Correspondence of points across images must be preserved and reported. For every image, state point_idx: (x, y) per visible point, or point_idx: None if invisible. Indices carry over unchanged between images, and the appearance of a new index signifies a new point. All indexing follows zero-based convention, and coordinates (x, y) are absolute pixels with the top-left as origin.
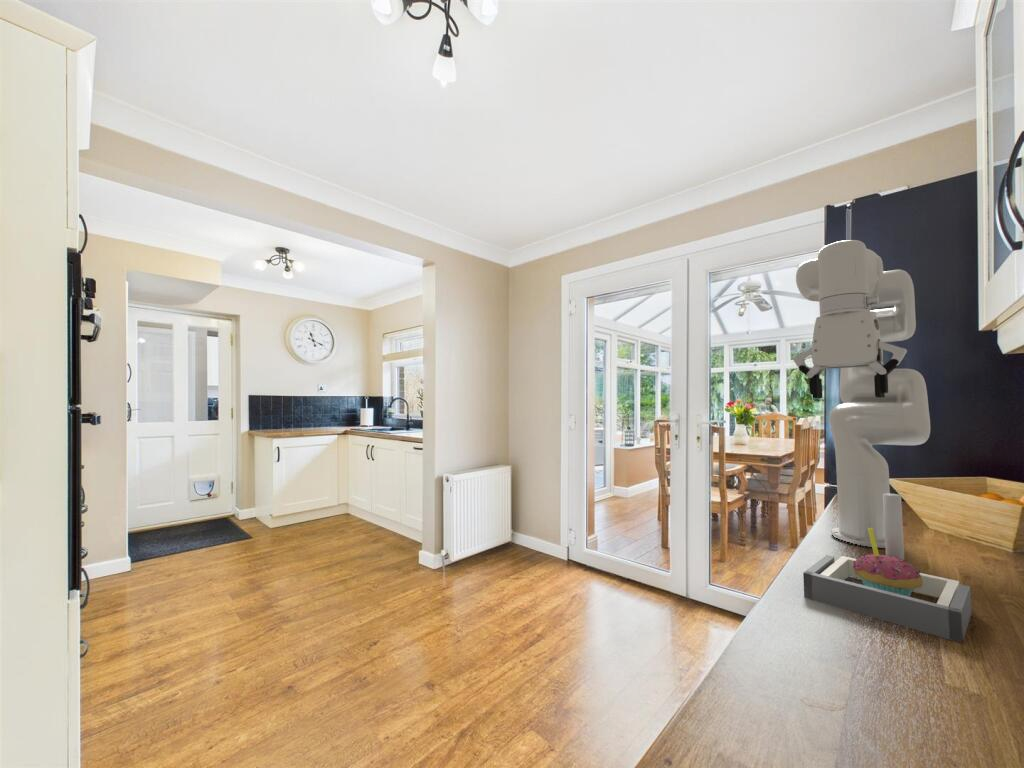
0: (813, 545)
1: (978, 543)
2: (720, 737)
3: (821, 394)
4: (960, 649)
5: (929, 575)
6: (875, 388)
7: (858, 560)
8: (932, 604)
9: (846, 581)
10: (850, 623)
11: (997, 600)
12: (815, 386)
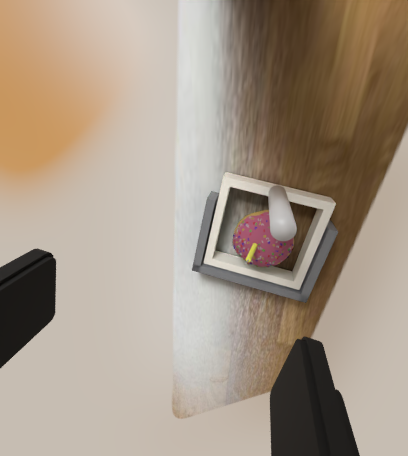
0: (186, 46)
1: None
2: (186, 408)
3: (42, 274)
4: None
5: (309, 200)
6: (274, 435)
7: (237, 244)
8: (288, 295)
9: (227, 275)
10: (231, 290)
11: (374, 164)
12: (4, 358)
